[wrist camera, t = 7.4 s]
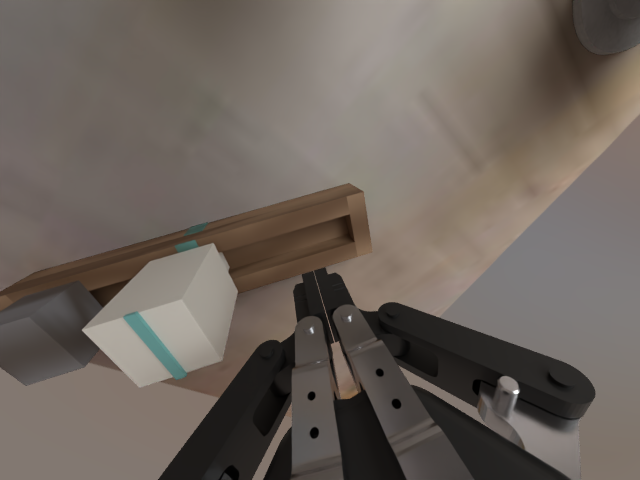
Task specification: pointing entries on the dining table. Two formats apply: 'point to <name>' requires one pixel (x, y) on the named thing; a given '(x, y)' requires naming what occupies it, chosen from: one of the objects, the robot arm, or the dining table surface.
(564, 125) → the dining table surface
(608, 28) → the mate gourd
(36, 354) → the beam
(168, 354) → the block
